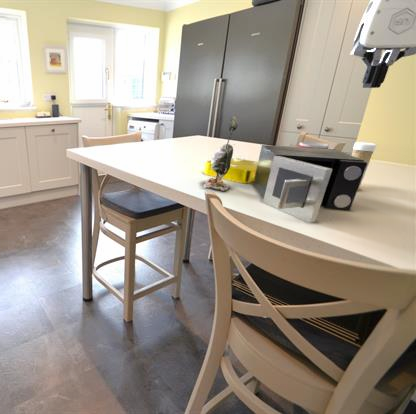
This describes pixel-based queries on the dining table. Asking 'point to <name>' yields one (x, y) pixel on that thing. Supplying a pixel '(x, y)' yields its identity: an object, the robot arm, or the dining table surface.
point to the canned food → (313, 145)
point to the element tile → (236, 170)
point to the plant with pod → (222, 161)
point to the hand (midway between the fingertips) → (370, 87)
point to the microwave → (336, 160)
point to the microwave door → (296, 187)
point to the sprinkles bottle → (363, 153)
